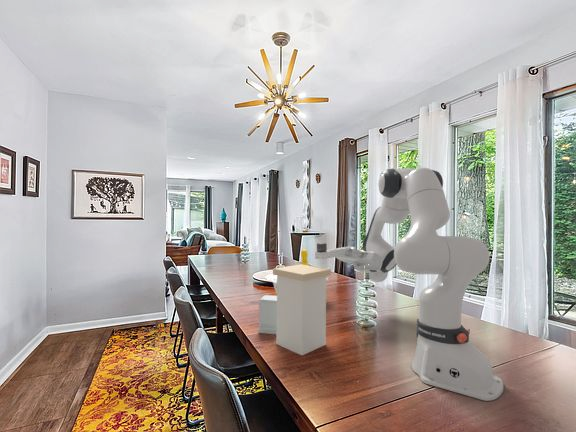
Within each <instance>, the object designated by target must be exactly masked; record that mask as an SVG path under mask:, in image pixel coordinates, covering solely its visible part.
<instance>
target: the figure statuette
mask: <svg viewBox="0 0 576 432" xmlns="http://www.w3.org/2000/svg"><path fill="white" fill-rule="evenodd" d="M300 256H301V263H300V264H302V265H308V266H310V265H309V262H308V251H307V249H302V250H301V253H300Z"/></svg>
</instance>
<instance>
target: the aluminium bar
mask: <svg viewBox="0 0 576 432" xmlns="http://www.w3.org/2000/svg"><path fill="white" fill-rule="evenodd" d="M327 244H328V243H326V242H317V243H316V251H315V252H314V259H315V260H327V259H332V258H336V257H337V256H342V255H348V254H353V253H351V252H350V250H351V248H355V249H356V250H357V247H356V246H352V245H351V246H349V245H348V246H342V247H336V248H331V249H328V248H327Z"/></svg>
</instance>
